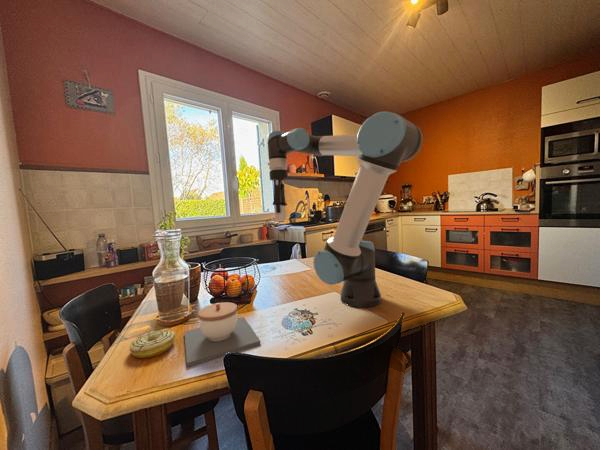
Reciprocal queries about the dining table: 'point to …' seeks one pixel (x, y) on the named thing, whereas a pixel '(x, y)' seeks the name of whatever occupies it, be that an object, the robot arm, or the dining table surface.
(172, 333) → the decorated donut
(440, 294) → the dining table surface
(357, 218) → the robot arm
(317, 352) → the dining table surface
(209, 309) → the lidded jar
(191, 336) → the mat
